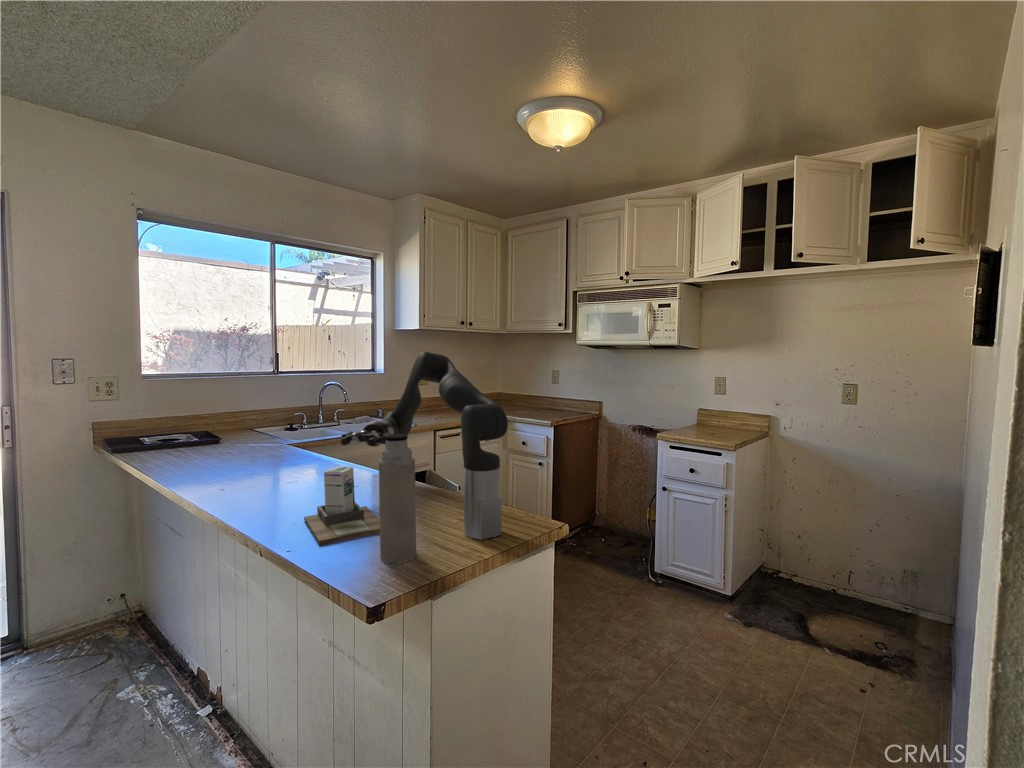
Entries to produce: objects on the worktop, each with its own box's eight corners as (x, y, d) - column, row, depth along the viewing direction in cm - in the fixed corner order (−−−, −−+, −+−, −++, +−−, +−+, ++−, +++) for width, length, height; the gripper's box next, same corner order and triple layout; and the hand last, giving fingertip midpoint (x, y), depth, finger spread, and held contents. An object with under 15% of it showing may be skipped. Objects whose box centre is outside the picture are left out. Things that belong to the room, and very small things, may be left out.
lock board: (388, 531, 127) (388, 518, 127) (319, 545, 118) (319, 531, 118) (366, 510, 144) (365, 498, 144) (304, 521, 135) (303, 508, 135)
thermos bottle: (384, 549, 116) (382, 432, 114) (418, 548, 116) (417, 431, 114) (376, 564, 108) (374, 438, 106) (413, 563, 108) (411, 438, 106)
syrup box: (344, 525, 132) (343, 472, 131) (324, 523, 133) (323, 470, 132) (355, 518, 137) (354, 467, 136) (336, 516, 139) (335, 465, 138)
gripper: (357, 420, 162) (333, 429, 146) (399, 421, 160) (379, 430, 144) (358, 443, 162) (334, 454, 146) (399, 444, 160) (380, 455, 144)
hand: (356, 442), depth 145 cm, fingers open, 8 cm apart
